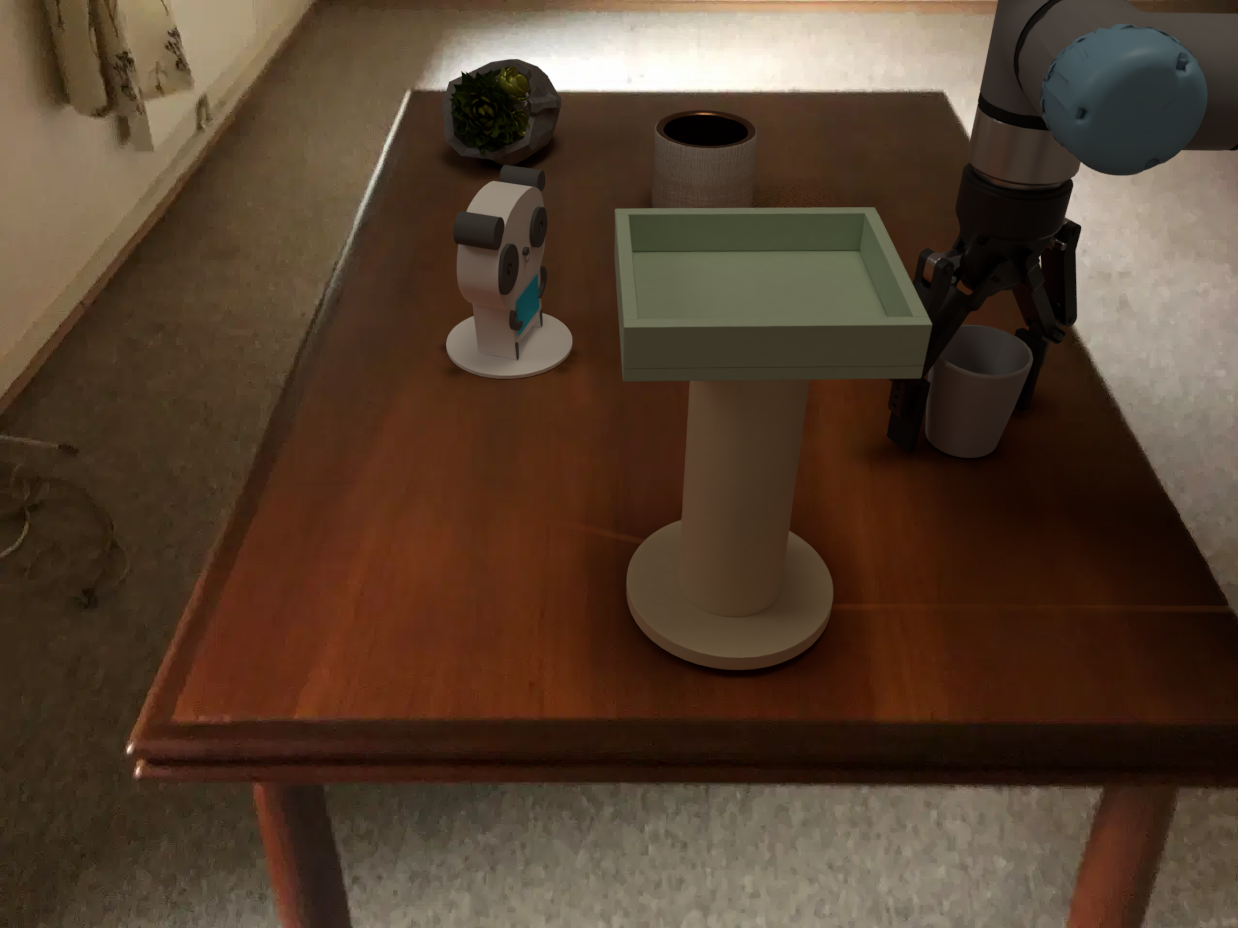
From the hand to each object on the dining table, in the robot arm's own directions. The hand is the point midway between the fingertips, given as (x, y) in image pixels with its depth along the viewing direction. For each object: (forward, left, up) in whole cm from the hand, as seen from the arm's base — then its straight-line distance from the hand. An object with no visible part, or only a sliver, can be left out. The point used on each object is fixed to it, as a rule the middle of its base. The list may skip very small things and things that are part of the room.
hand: (958, 423), depth 93 cm
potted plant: (+67, +10, -1) cm, 68 cm away
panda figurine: (+29, +27, -1) cm, 40 cm away
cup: (0, 0, -1) cm, 1 cm away
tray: (-7, +27, -1) cm, 28 cm away
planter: (+44, -3, -1) cm, 44 cm away
